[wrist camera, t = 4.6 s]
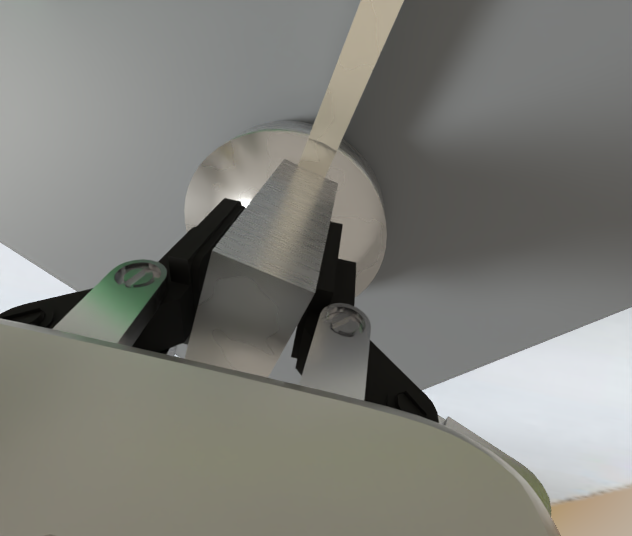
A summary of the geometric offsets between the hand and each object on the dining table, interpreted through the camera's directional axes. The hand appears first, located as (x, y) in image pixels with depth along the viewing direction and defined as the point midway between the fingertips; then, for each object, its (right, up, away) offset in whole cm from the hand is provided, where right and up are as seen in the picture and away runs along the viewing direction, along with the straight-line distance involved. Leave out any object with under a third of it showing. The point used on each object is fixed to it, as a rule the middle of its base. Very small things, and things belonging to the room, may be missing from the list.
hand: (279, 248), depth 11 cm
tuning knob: (+1, +4, +1) cm, 4 cm away
